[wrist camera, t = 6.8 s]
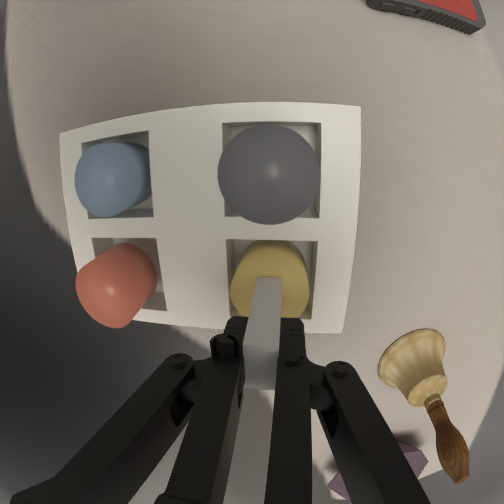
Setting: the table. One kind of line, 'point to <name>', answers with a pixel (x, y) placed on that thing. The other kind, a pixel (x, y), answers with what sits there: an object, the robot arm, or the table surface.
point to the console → (222, 208)
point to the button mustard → (272, 265)
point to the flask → (412, 456)
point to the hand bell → (427, 392)
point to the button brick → (116, 284)
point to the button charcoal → (268, 174)
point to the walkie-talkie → (438, 12)
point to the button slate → (113, 177)
